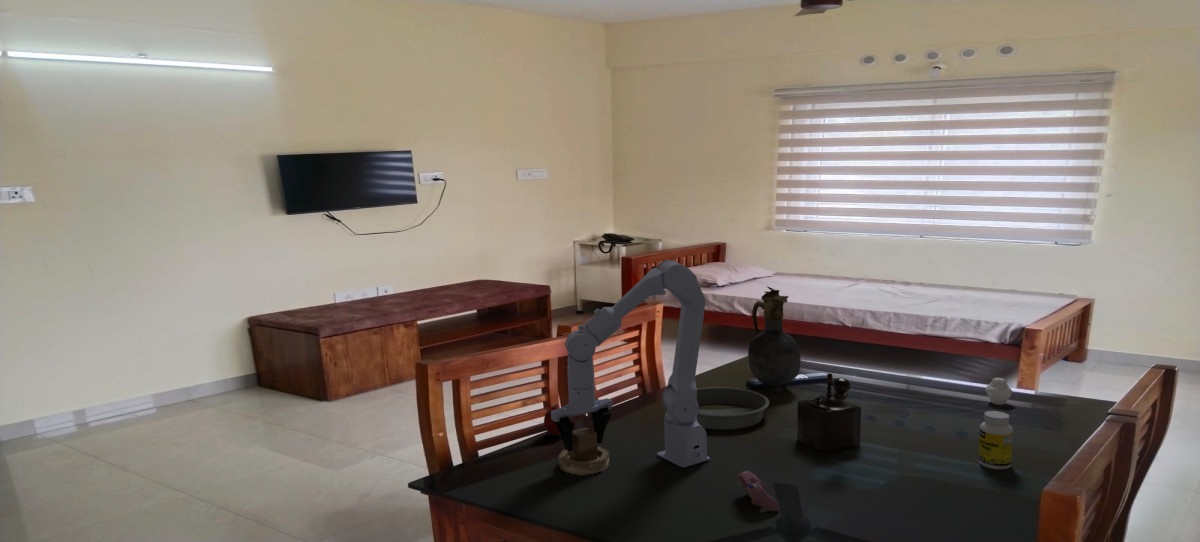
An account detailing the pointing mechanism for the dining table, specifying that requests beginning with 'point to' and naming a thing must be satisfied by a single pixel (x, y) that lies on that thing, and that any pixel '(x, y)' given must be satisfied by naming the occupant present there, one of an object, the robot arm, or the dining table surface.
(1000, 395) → the white rounded lump
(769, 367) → the pitcher
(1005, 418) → the pill bottle
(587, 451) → the walnut block
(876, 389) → the dining table surface
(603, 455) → the base
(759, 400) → the cake pan
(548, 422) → the onion
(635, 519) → the dining table surface
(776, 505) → the pink animal figurine
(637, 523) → the dining table surface
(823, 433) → the manual coffee grinder
